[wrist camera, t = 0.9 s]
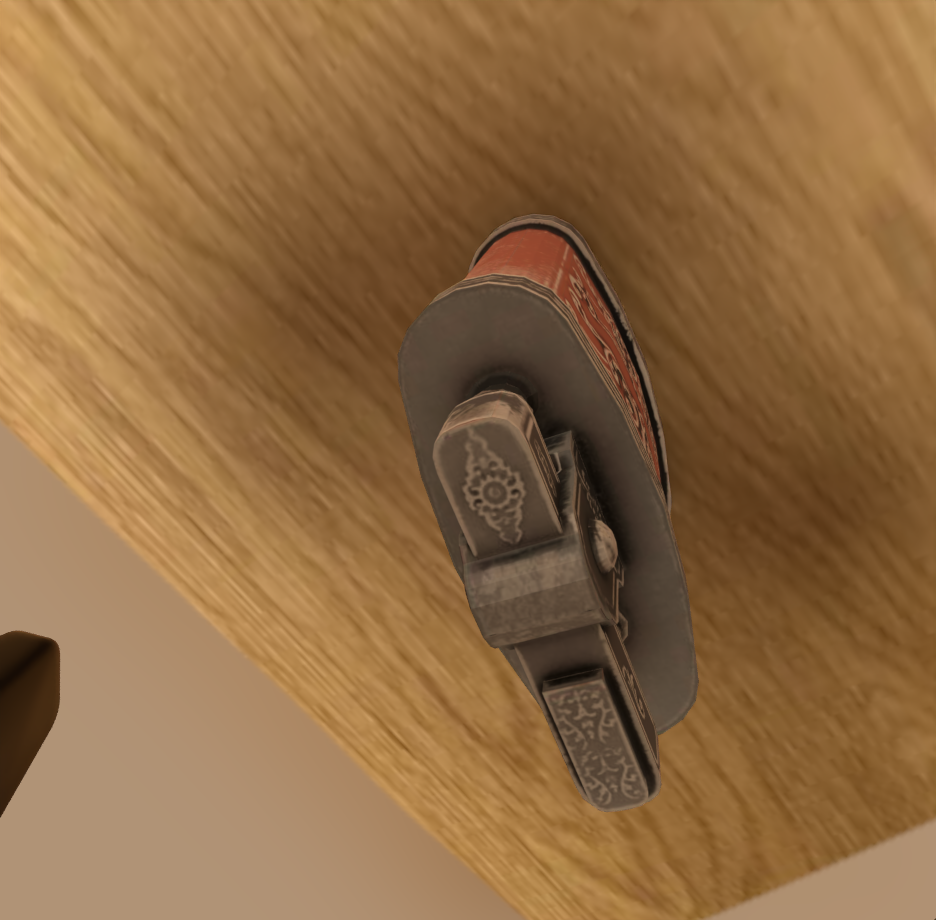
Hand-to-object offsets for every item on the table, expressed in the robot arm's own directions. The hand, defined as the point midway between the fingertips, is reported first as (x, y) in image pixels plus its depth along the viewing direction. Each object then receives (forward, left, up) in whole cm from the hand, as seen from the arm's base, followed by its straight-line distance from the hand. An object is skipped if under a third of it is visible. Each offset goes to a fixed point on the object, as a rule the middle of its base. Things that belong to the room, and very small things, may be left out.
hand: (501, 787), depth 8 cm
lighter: (0, 0, -13) cm, 13 cm away
